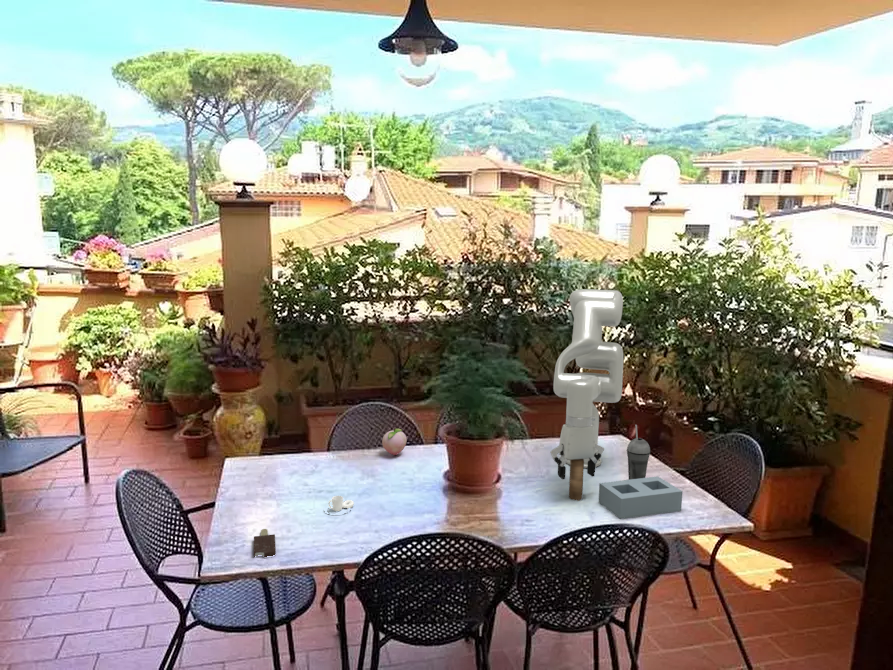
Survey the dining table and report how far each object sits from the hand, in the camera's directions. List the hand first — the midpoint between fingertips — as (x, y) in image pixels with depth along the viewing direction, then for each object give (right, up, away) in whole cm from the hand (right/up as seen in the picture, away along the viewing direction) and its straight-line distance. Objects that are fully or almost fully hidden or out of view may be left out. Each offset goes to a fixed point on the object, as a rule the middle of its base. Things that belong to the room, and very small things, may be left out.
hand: (576, 476), depth 201 cm
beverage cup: (+21, -6, +11) cm, 25 cm away
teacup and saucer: (-67, -9, -10) cm, 69 cm away
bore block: (+18, -8, -4) cm, 20 cm away
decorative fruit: (-58, -1, +37) cm, 69 cm away
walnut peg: (0, -7, +2) cm, 7 cm away
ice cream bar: (-86, -12, -29) cm, 91 cm away
